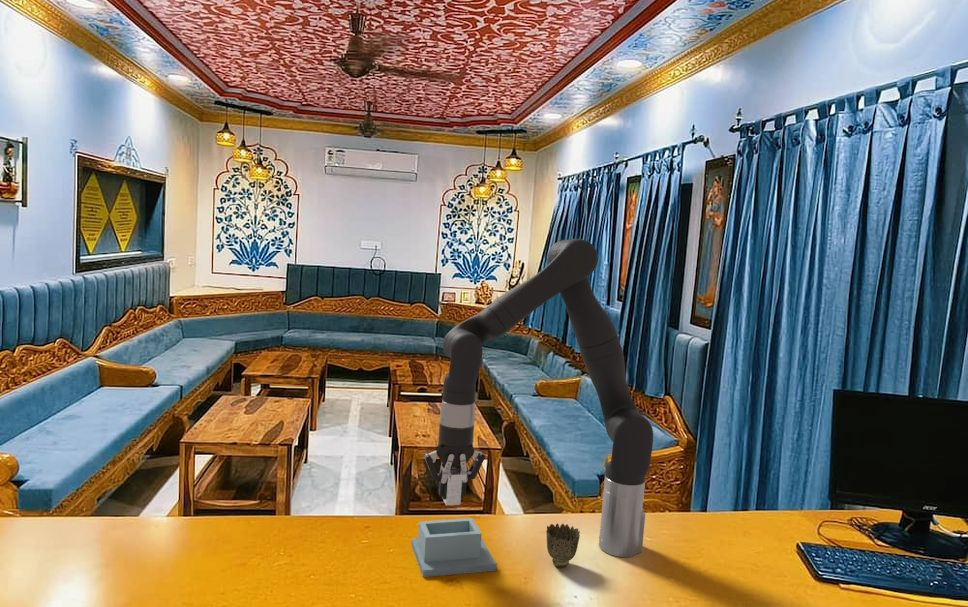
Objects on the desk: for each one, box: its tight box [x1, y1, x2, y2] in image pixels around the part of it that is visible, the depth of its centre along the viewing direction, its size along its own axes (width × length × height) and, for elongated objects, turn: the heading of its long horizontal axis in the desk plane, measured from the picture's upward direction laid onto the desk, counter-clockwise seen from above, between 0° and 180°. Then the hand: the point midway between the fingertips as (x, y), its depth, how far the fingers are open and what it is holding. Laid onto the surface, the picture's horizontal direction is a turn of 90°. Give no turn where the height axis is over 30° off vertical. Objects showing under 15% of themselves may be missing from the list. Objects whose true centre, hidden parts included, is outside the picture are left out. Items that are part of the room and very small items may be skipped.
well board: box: [410, 517, 497, 578], centre depth 143 cm, size 16×14×7 cm
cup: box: [545, 523, 581, 569], centre depth 142 cm, size 8×7×8 cm
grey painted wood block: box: [442, 467, 466, 506], centre depth 140 cm, size 3×6×8 cm, turn 16°
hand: (451, 497), depth 141 cm, fingers closed on grey painted wood block, 3 cm apart
